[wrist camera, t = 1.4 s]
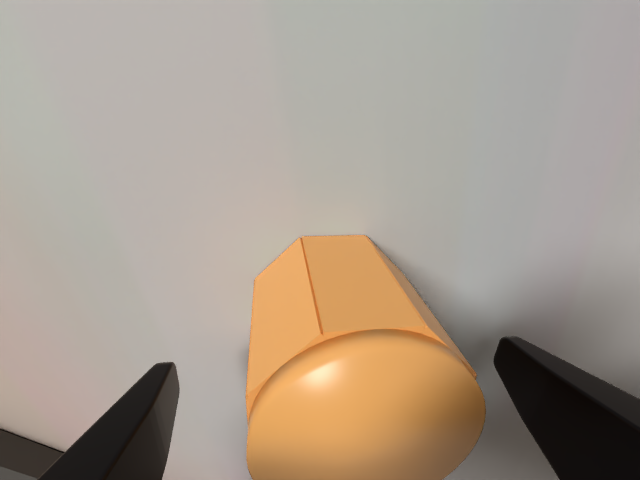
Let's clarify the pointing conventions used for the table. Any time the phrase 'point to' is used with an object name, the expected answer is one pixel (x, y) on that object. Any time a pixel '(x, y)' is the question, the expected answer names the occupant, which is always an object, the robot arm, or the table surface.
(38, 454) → the bar
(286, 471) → the orange domed octagonal post
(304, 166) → the table surface
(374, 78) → the table surface
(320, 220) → the table surface
